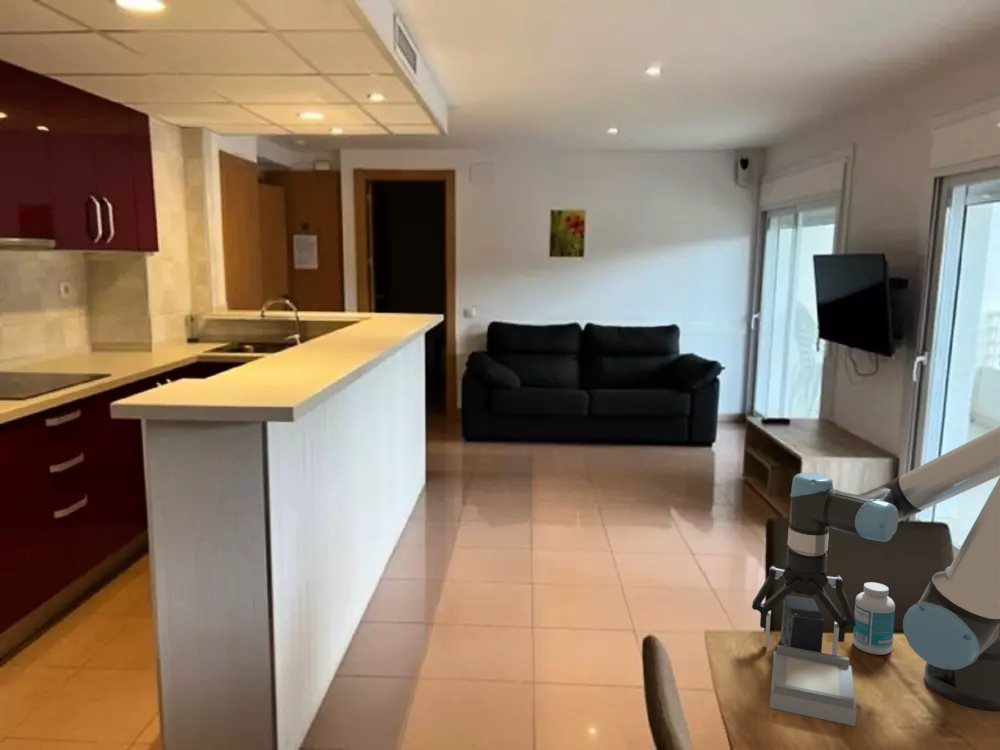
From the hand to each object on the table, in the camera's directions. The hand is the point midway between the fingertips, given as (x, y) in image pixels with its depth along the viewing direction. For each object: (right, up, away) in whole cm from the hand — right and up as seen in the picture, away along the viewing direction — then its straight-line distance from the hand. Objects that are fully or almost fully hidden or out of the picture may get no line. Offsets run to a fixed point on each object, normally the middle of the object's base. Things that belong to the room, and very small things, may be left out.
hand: (800, 648), depth 152 cm
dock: (-4, -3, -14) cm, 15 cm away
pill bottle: (+16, -1, +3) cm, 17 cm away
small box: (0, -1, 0) cm, 1 cm away
